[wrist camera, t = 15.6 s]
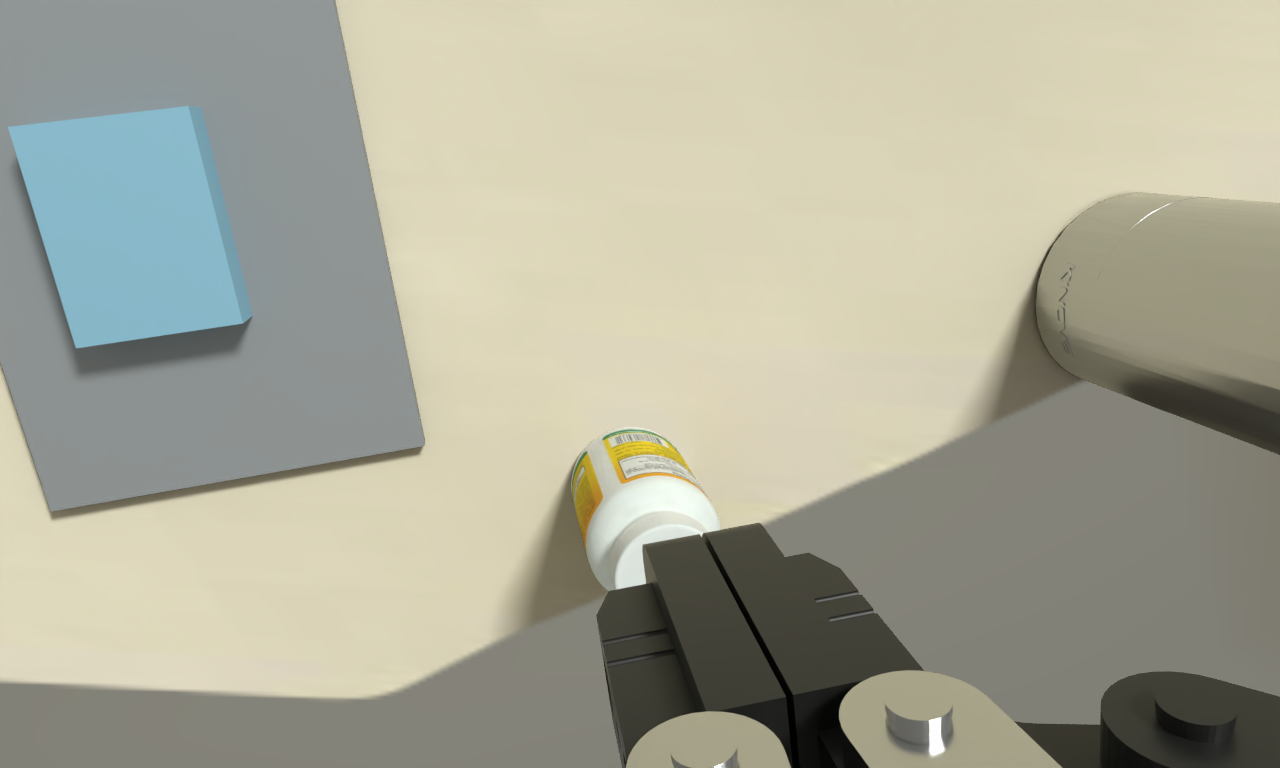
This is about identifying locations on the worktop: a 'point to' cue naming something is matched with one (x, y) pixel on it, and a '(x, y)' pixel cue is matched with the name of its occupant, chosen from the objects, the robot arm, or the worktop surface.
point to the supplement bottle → (634, 502)
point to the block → (133, 224)
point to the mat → (265, 242)
